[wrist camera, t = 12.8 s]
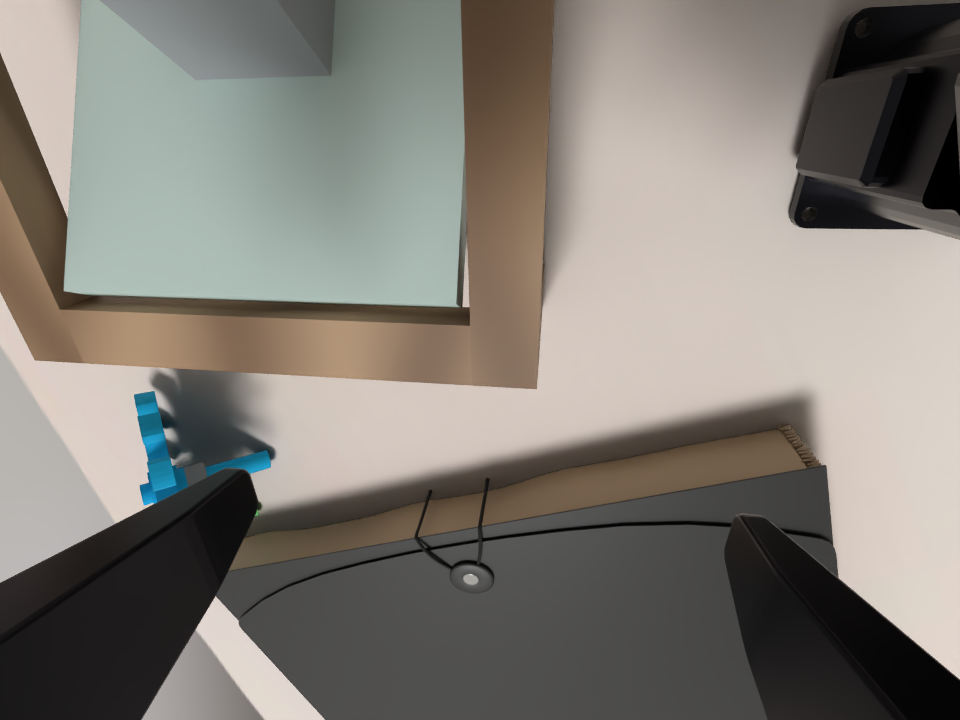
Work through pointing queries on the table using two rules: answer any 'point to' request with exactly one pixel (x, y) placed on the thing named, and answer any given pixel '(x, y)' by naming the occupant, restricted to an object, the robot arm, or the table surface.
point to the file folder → (535, 592)
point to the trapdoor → (274, 168)
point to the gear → (161, 471)
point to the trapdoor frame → (325, 327)
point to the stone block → (237, 35)
